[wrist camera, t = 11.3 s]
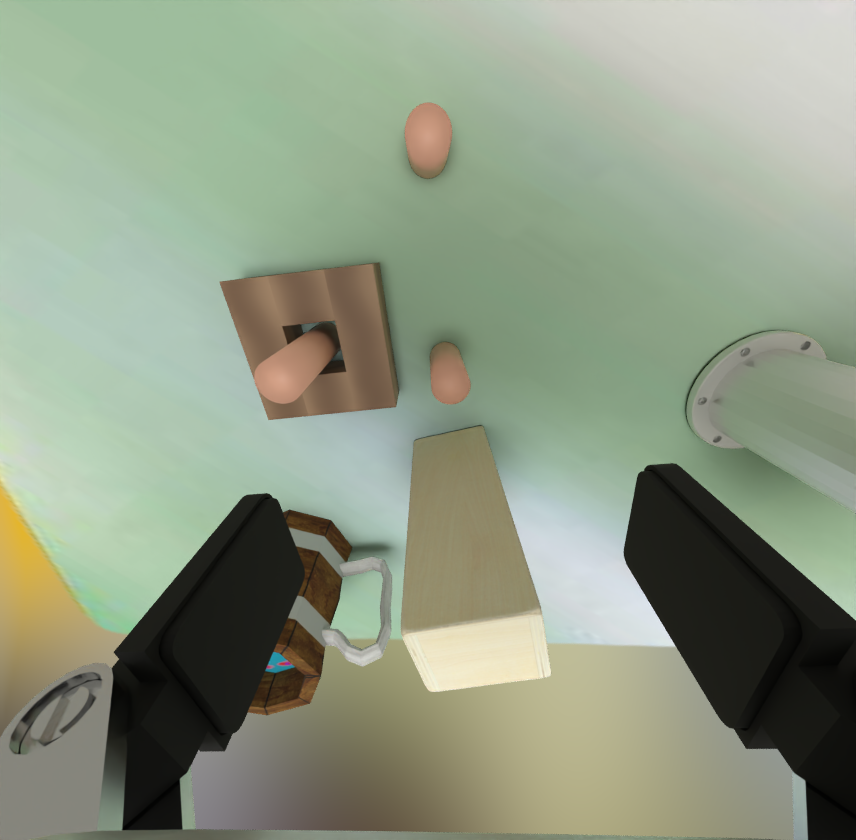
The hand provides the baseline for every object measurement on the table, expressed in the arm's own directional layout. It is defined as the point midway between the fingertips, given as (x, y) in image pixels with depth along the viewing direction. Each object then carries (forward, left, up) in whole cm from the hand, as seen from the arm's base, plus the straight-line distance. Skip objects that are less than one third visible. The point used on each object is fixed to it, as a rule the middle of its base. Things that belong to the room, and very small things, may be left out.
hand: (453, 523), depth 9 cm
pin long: (+10, 0, -25) cm, 27 cm away
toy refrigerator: (-1, +15, -26) cm, 29 cm away
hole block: (+10, 0, -25) cm, 27 cm away
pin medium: (-1, +3, -25) cm, 26 cm away
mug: (+17, +27, -26) cm, 41 cm away
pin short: (-1, -13, -25) cm, 29 cm away
